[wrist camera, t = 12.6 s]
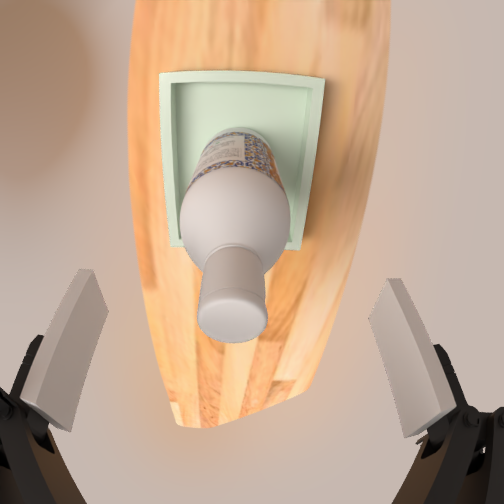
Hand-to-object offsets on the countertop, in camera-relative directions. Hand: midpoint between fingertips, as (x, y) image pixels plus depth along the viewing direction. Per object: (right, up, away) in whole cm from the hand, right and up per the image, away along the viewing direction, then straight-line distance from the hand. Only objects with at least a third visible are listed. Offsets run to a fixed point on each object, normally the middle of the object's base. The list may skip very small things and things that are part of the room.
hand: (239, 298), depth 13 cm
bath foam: (-1, +11, +15) cm, 19 cm away
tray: (-1, +11, +16) cm, 20 cm away
